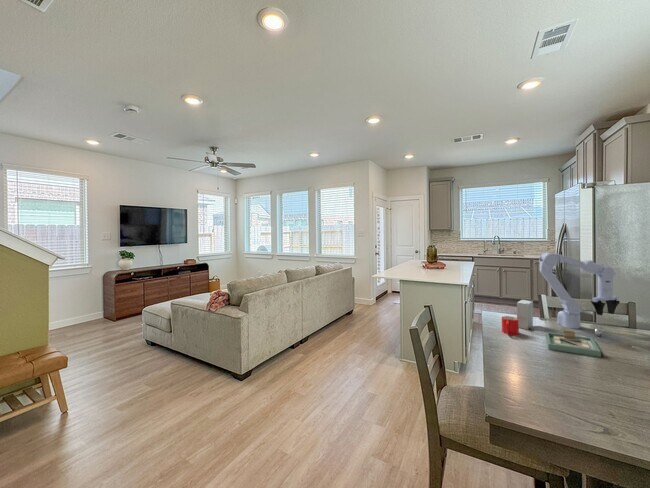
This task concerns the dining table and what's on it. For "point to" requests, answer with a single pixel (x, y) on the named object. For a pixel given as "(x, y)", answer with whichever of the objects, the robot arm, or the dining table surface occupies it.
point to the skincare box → (525, 313)
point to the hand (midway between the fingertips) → (605, 314)
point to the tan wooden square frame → (570, 336)
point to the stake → (598, 330)
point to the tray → (571, 349)
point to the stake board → (605, 336)
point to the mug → (510, 325)
